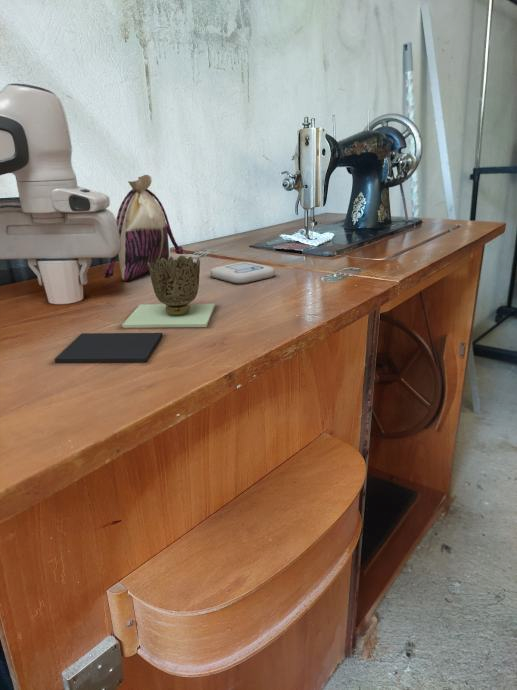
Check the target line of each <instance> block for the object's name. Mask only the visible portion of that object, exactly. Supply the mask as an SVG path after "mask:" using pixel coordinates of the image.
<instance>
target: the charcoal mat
mask: <svg viewBox="0 0 517 690" xmlns="http://www.w3.org/2000/svg"><path fill="white" fill-rule="evenodd" d="M162 338H163V332H96V333H95V332H91V333H90V332H86V333H85V332H84V333H83V332H82V333H80V334H79V335H77V337H76V338H75V339H74V340H73V341H72V342H70V344H68V346H67V347H65V349H63V350H62V351H61V352H60V353H59V354H58V355H57V356H56V357H55V358H54V363H55V364H56V363H59V364H60V363H64V364H65V363H147V362H148V360H149V358H150V357H151V355H152V354H153V352H154V350H155V349H156V348H157V346H158V344H159V342H160V341H161V339H162Z"/></svg>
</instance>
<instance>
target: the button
mask: <svg viewBox="0 0 517 690" xmlns="http://www.w3.org/2000/svg"><path fill="white" fill-rule="evenodd" d="M275 274H276V270H275V268H274V267H272V266H269V265H264V264H259V263H256V262H255V263H254V262H251V261H240V262H236V263H229V264H225V265H220V266H215V267H213V268H211V270H210V276H211V277H212V278H213V279H217V280H220V281H224V282H228V283H231V284H236V285H243V284H244V285H245V284H249V283H252V282H257V281H261V280H265V279H270V278H272V277H274V276H275Z"/></svg>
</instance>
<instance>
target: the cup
mask: <svg viewBox="0 0 517 690" xmlns="http://www.w3.org/2000/svg"><path fill="white" fill-rule="evenodd" d="M148 267H149V276H150V279H151V286H152V288H153V292H154V294H155V295H154V296H155V297H156V299H157V300H158V301H159V302H160V304H165V305H166V308H165V310H166V312H167V313H168V314H169V315H172V316H181V315H185V314H187V313H188V312H189V311H190V305H189V304H191V303H192V302H193V301H194V300H195V299H196V297H197V295H198V292H199V286H200V269H201V260H200V258H199V257H198V258H197V259H196V261H194V258H193V256H191V255H190V256H189V257H188V258H187V257H186V256H183V254H180V255H179V256H178V257H177V258H176V259H175V258H174V257H173V256H171V255H169V259H168V261H167V260H166V259H165V258H161V259H160V260H159V259H158V258H157V260H156V262H155V264H154V263H153V262H152V260H151V264H150V263H149V262H148Z"/></svg>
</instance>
